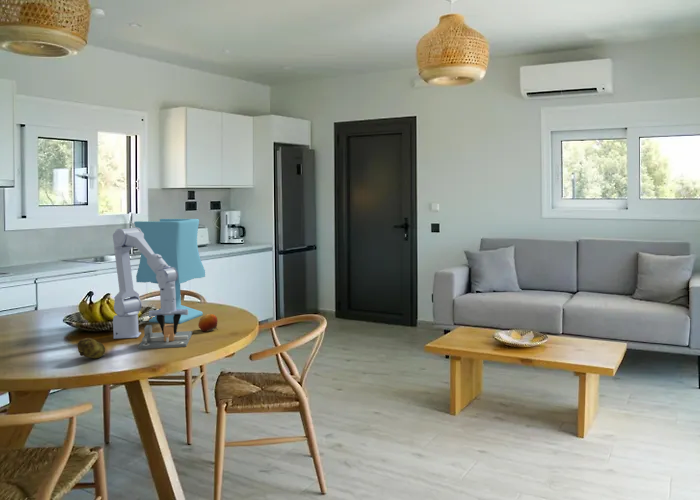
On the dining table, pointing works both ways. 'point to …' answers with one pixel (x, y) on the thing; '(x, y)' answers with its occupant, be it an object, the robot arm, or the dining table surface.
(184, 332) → the board
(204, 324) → the fruit
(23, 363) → the dining table surface
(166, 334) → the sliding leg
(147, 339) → the fixed leg
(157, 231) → the lamp with square shade
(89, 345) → the potato
